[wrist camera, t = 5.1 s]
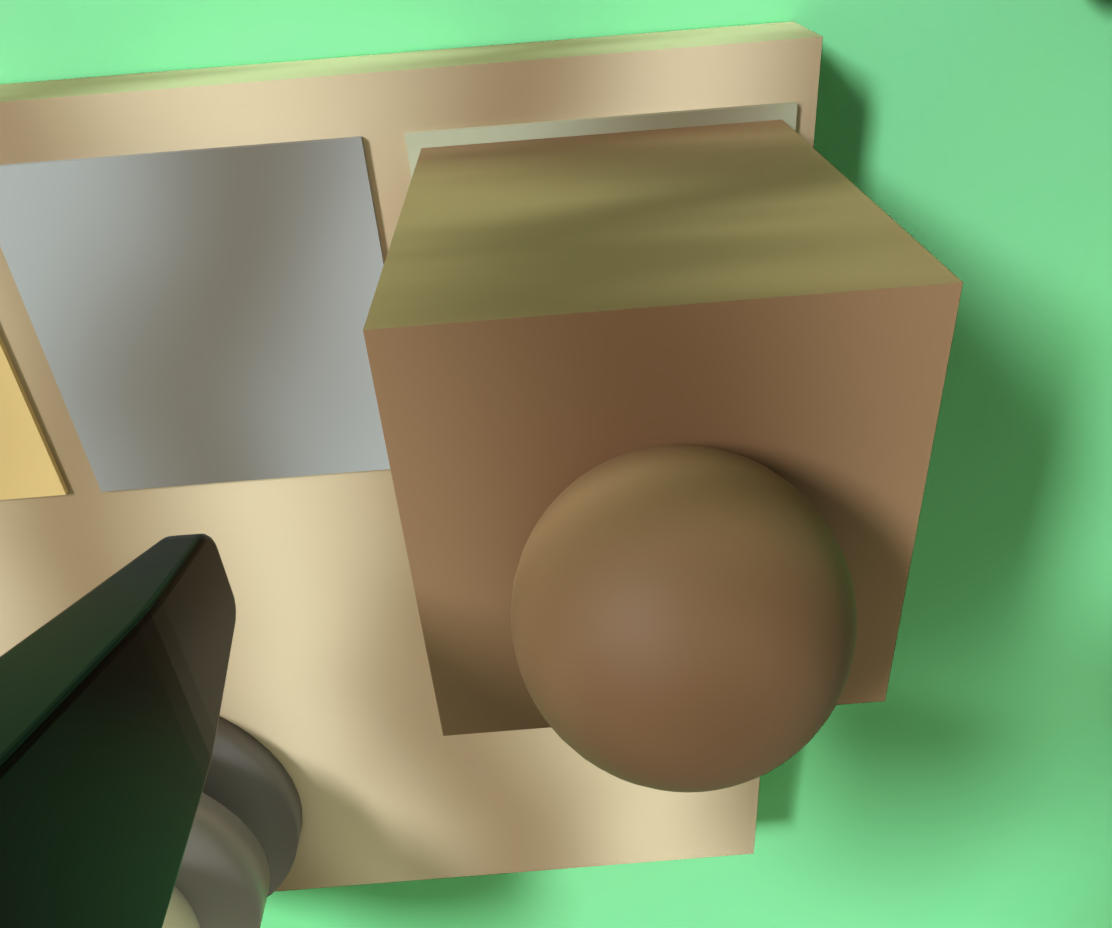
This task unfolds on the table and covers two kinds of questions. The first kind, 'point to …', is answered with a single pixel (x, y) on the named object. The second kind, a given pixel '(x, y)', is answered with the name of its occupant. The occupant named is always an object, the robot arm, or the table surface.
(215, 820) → the dome
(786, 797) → the table surface
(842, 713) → the table surface
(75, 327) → the game board
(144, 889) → the robot arm
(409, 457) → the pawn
